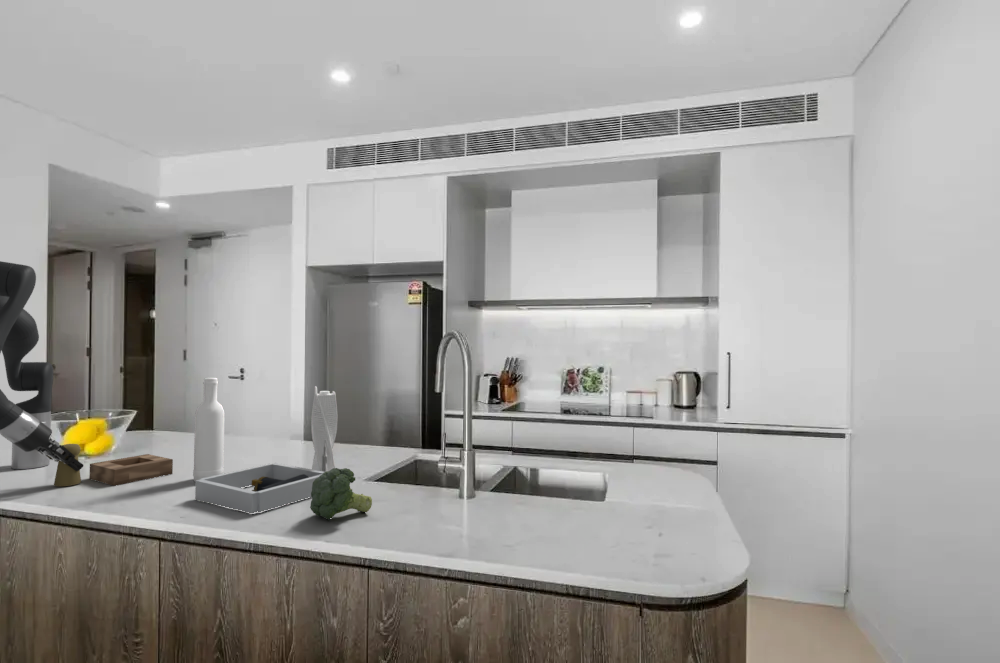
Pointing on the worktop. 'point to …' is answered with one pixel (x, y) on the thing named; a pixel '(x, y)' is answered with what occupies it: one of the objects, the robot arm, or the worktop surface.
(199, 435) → the bottle
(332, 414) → the skyscraper
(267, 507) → the tray rim
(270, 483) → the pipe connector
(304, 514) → the worktop surface
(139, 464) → the socket block
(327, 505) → the vegetable
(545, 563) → the worktop surface
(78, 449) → the cork
